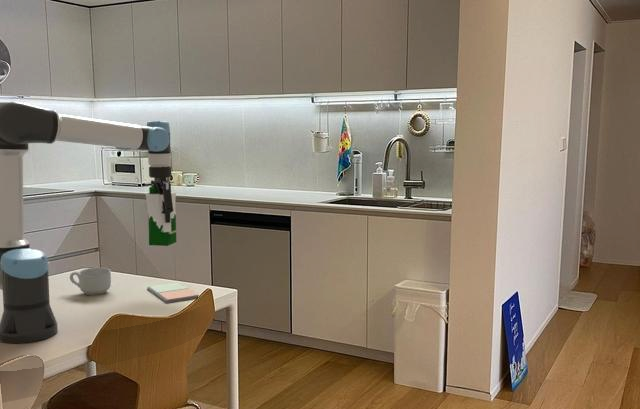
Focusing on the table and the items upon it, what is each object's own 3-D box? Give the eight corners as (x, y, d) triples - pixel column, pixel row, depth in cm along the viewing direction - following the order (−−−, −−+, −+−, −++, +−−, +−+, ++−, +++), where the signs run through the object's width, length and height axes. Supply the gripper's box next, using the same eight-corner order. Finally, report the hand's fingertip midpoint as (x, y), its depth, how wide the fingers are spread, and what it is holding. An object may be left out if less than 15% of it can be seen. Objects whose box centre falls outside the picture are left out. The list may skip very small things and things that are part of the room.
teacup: (117, 290, 216) (116, 268, 215) (101, 298, 206) (100, 275, 205) (81, 287, 219) (80, 266, 218) (64, 296, 208) (63, 273, 207)
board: (166, 303, 201) (166, 299, 200) (147, 289, 217) (147, 286, 217) (200, 297, 207) (200, 294, 207) (179, 285, 224) (179, 282, 224)
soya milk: (156, 240, 218) (154, 185, 215) (180, 241, 216) (178, 186, 213) (145, 245, 209) (142, 188, 207) (169, 246, 208) (167, 188, 205)
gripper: (181, 167, 202) (183, 233, 205) (160, 163, 220) (162, 224, 223) (159, 168, 198) (162, 235, 201) (139, 164, 216) (142, 226, 219)
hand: (162, 229), depth 212 cm, fingers closed on soya milk, 9 cm apart
